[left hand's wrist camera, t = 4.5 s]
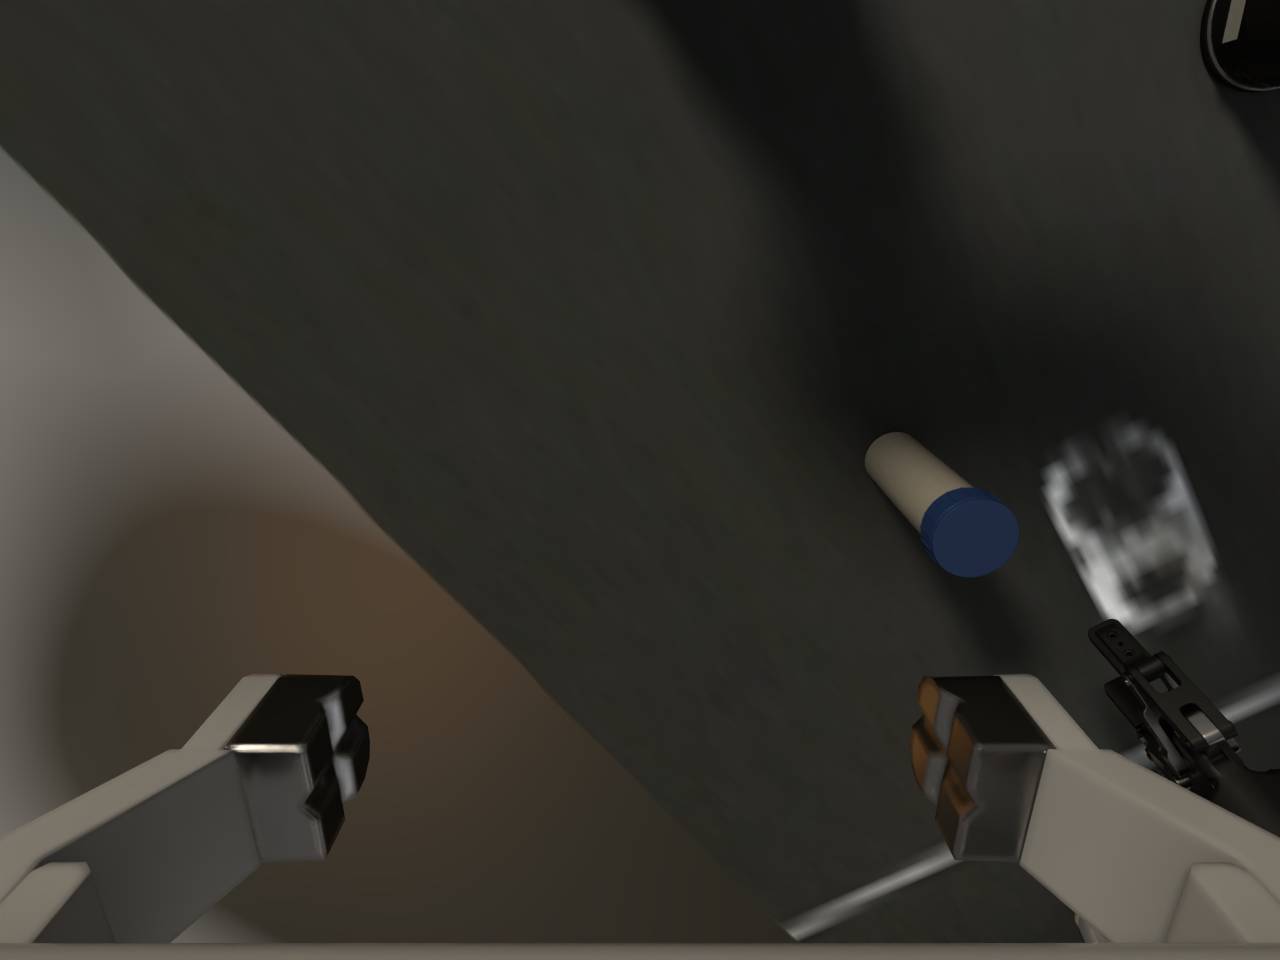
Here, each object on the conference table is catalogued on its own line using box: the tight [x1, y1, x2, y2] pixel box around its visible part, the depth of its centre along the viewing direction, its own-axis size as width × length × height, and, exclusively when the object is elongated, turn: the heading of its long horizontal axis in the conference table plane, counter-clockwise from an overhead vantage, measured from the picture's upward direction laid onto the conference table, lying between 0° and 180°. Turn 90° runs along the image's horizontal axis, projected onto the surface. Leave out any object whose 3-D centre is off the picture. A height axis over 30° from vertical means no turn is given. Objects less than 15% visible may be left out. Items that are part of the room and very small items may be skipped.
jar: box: [865, 432, 975, 535], centre depth 53 cm, size 5×5×15 cm
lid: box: [920, 487, 1019, 578], centre depth 46 cm, size 6×6×2 cm
